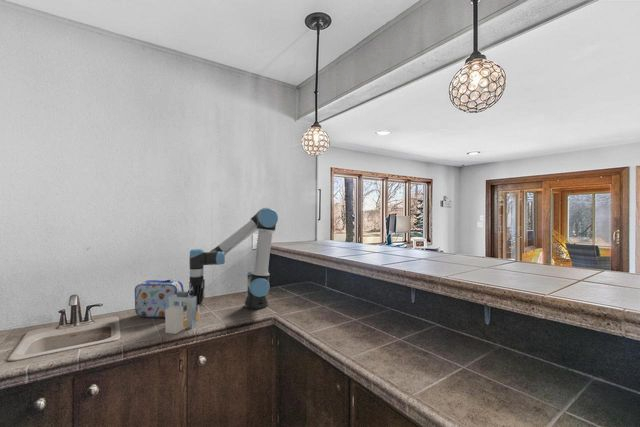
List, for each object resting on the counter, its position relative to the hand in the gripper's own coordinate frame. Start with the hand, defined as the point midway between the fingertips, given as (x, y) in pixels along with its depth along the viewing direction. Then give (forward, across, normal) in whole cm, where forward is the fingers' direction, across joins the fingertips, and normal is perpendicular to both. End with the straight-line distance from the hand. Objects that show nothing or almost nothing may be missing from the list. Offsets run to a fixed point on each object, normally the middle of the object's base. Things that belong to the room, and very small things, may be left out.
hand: (196, 316), depth 174 cm
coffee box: (+2, -23, -16) cm, 28 cm away
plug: (+1, +11, 0) cm, 11 cm away
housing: (+1, +12, 0) cm, 13 cm away
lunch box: (+2, +1, -24) cm, 24 cm away
